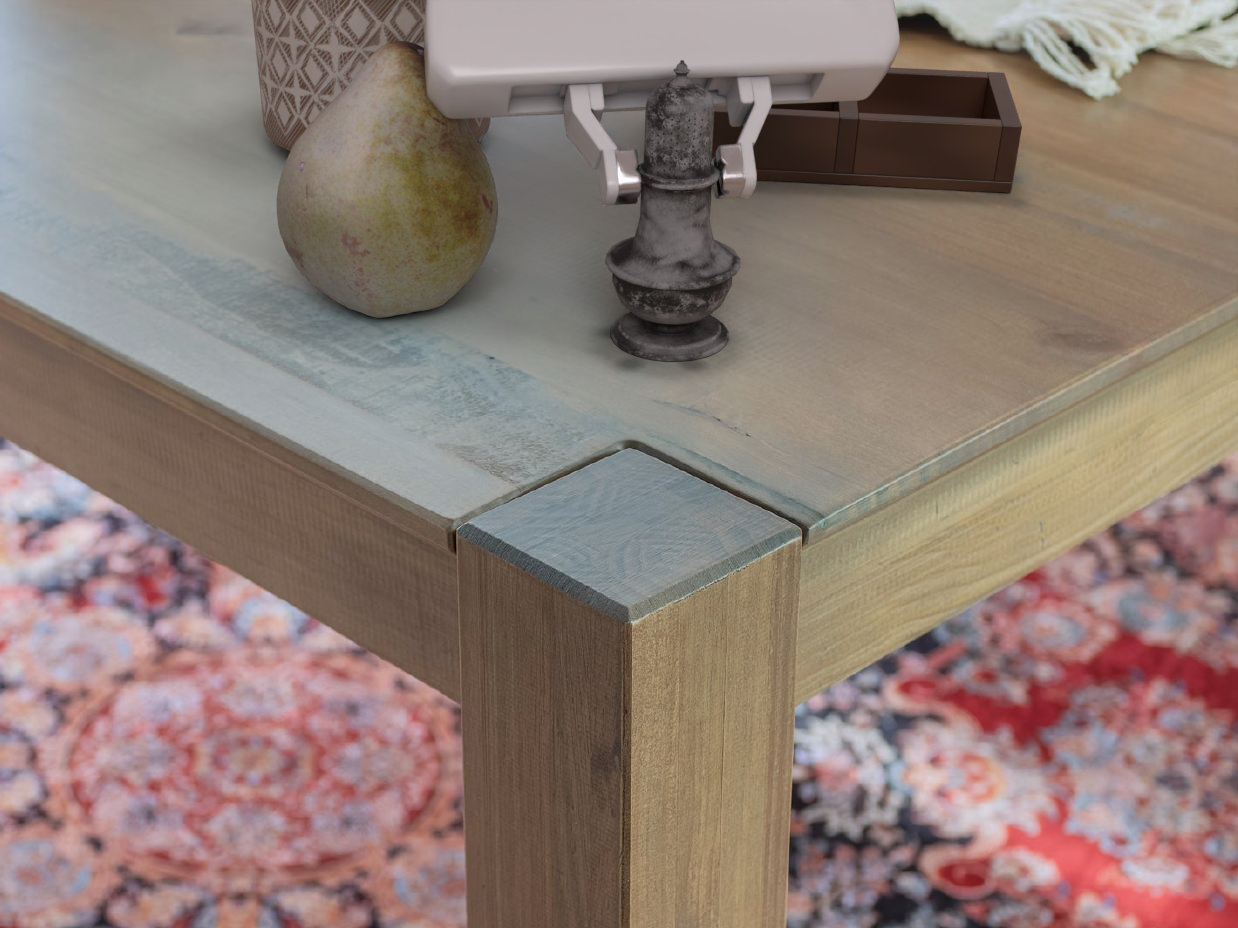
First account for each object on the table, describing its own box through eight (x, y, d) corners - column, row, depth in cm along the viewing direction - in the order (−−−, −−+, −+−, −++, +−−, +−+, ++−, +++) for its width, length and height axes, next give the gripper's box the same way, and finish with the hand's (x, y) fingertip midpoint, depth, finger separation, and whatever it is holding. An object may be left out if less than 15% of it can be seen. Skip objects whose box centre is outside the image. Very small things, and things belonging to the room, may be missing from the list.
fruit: (541, 306, 76) (541, 38, 69) (378, 367, 71) (360, 83, 64) (402, 242, 82) (389, -12, 75) (242, 293, 77) (212, 26, 70)
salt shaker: (762, 343, 73) (785, 67, 66) (655, 375, 71) (667, 91, 63) (682, 297, 77) (695, 31, 70) (577, 326, 74) (580, 53, 67)
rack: (994, 135, 96) (1004, 72, 94) (1011, 193, 89) (1022, 126, 87) (685, 120, 98) (688, 58, 96) (675, 176, 90) (678, 109, 88)
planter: (520, 168, 91) (518, -32, 85) (291, 193, 87) (272, -13, 81) (454, 99, 100) (449, -85, 94) (246, 120, 97) (226, -70, 91)
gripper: (400, -147, 67) (436, 175, 65) (885, -157, 70) (934, 150, 68) (396, -55, 73) (429, 241, 71) (842, -69, 76) (886, 215, 74)
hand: (680, 196), depth 69 cm, fingers closed on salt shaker, 3 cm apart
